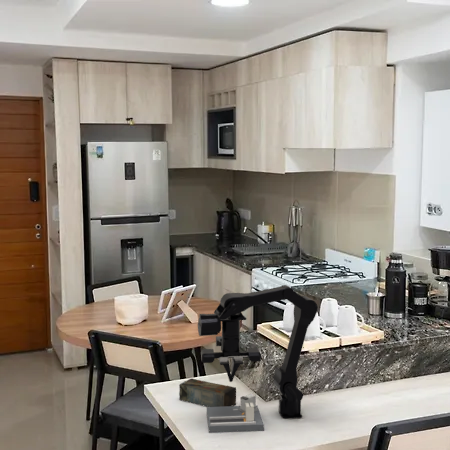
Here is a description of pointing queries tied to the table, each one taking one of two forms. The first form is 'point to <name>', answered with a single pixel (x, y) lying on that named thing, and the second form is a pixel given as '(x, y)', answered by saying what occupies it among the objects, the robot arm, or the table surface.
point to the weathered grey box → (207, 393)
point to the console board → (232, 420)
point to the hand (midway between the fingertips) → (230, 381)
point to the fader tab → (249, 412)
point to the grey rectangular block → (247, 400)
